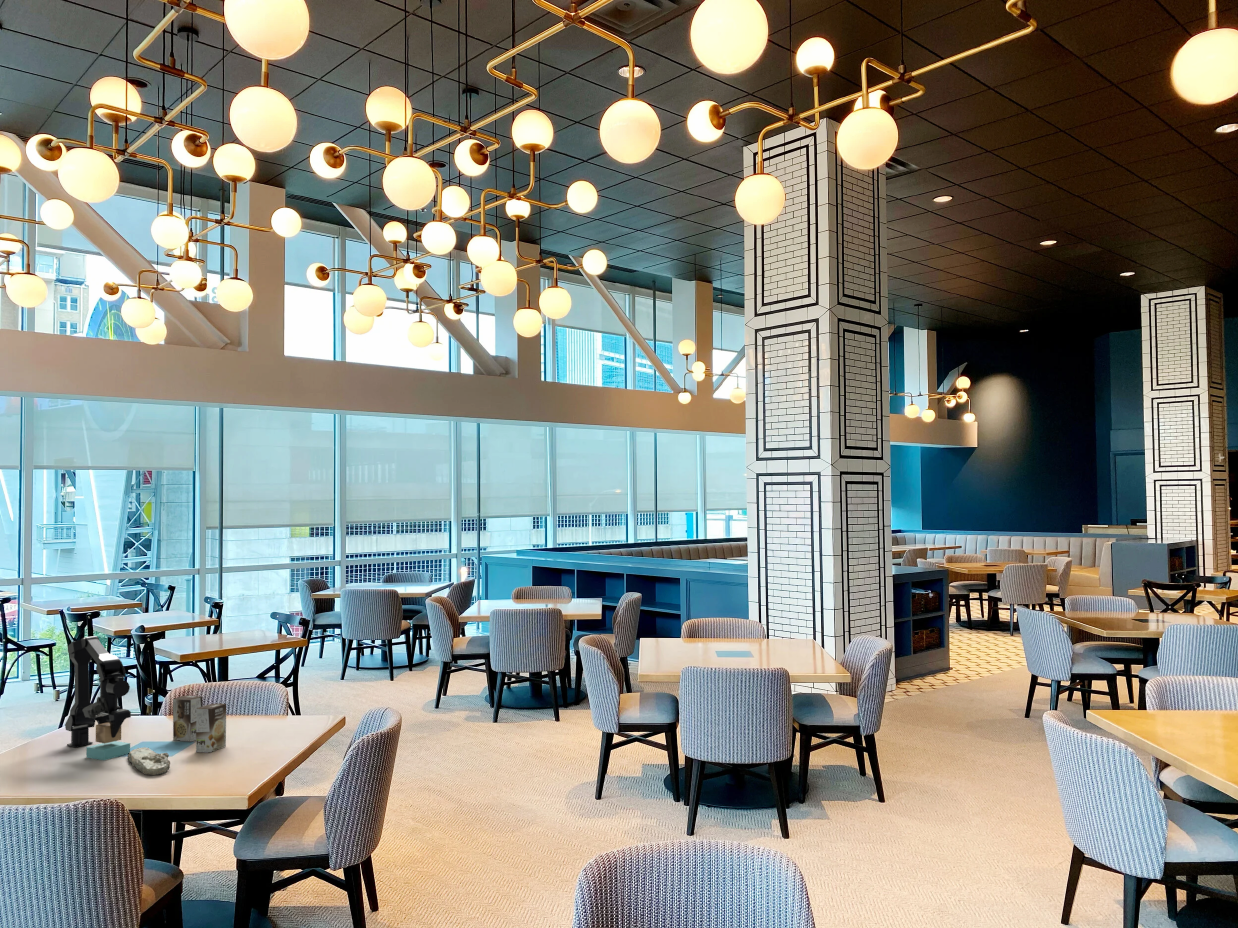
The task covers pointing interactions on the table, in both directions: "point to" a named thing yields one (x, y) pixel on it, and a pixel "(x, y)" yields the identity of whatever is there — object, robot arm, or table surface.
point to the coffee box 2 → (211, 727)
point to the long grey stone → (149, 761)
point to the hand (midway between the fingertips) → (108, 736)
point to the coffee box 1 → (185, 717)
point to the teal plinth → (107, 750)
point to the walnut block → (106, 733)
